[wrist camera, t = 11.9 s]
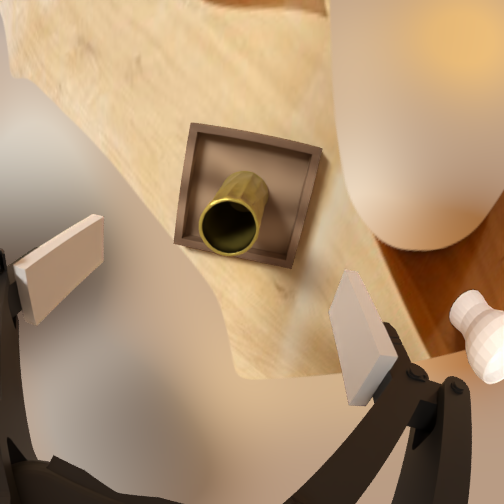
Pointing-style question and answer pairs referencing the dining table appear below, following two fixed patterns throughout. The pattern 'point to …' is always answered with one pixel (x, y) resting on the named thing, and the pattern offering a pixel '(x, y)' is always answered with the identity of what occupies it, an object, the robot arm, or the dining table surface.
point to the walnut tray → (261, 163)
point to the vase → (234, 214)
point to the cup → (481, 335)
